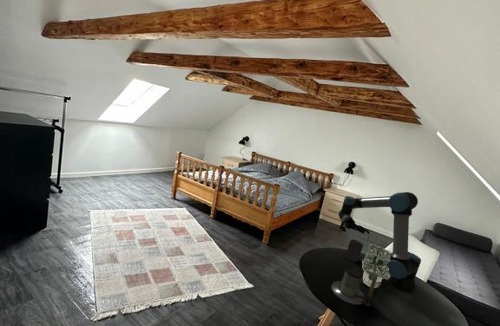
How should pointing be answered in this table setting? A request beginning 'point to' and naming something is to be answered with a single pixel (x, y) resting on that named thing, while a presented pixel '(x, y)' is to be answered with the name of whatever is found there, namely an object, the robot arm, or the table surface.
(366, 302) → the gauge stand
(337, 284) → the turntable
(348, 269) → the coffee can
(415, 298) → the table surface
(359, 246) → the pillar candle
